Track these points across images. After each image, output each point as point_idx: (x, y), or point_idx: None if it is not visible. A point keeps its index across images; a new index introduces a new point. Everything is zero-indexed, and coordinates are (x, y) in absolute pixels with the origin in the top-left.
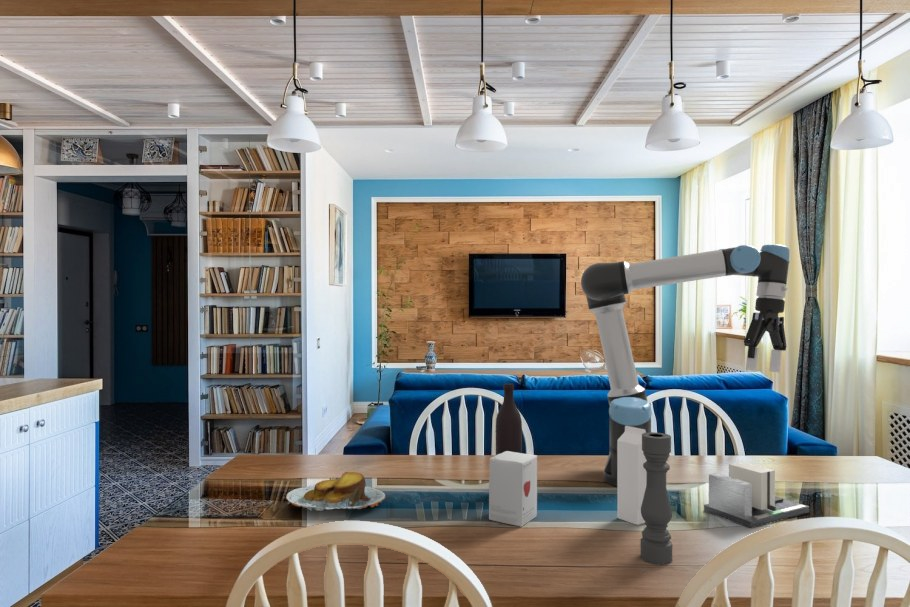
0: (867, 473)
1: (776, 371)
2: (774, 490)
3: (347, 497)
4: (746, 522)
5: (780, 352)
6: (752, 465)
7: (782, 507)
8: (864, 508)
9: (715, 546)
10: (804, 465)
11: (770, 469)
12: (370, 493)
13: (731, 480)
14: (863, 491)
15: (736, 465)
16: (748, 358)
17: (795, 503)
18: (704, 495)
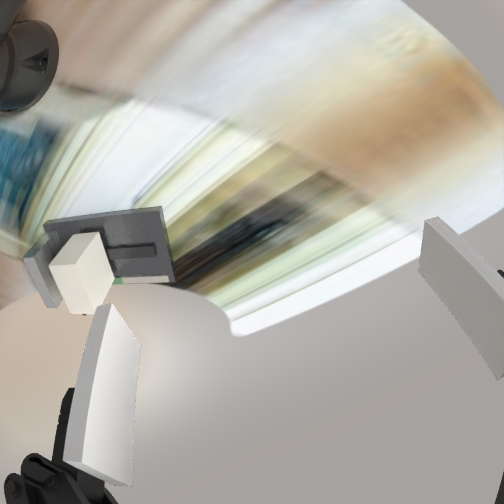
0: (456, 195)
1: (421, 263)
2: (106, 293)
3: None
4: None
5: (490, 368)
6: (79, 285)
7: (135, 271)
8: (268, 292)
9: (24, 294)
10: (430, 108)
11: (93, 309)
12: None
13: (39, 289)
14: (352, 248)
15: (55, 275)
16: (85, 377)
17: (166, 267)
18: (81, 164)
